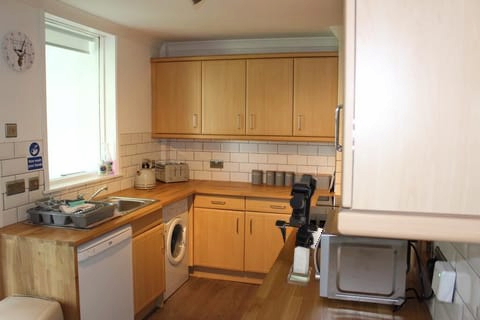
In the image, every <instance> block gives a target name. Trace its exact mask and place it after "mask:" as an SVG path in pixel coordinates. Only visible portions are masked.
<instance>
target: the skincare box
mask: <svg viewBox="0 0 480 320" xmlns="http://www.w3.org/2000/svg"><path fill="white" fill-rule="evenodd" d="M297 246H298V245H297ZM297 246H296V247H295V248H294V254H293V255H294V256H293V265H294V269H293V271H292V272H297V273H304V274H309V271H308V267H310V265H309V264H310V263H309V262H310V256H309V252H310V253H311V248H310V249H307V248H303V247H299V246H298V247H297Z"/></svg>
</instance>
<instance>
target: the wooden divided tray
mask: <svg viewBox="0 0 480 320" xmlns="http://www.w3.org/2000/svg"><path fill="white" fill-rule="evenodd" d="M293 269H294V264H291V265H290V269H289V272H288V275H287V277H286V284H289V285H296V286H301V287H309V283H310V281H311V280H310V279H311V275H312V272H313V271H312V270H313V267H311V266H309V267H308V273H307V274H304V273H297V272H293ZM311 271H312V272H311Z"/></svg>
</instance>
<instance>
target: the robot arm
mask: <svg viewBox="0 0 480 320" xmlns="http://www.w3.org/2000/svg"><path fill="white" fill-rule="evenodd" d="M313 176H314V175H312V174H306V173H303V174H301V177H300V179H299V181H295V182H294V183H293V184H292V186H291V191H290V195H289V196H290V197H291V198H290V199H289V206H290V207H291V215H290V216H289V219H288V220H289V221H288V222H287V221H286V220H281V219H277V220H275V226H276V227H277V228H278V229H279V230H280V231H281V235H282V240H283V244H286V239H287V227H291V228H295V229H296V228H297V231H296V233H295V244H297V246H296V248H297V247H298V246H299V247H303V248H307V249H310V250H311V246H312V245H314V237H313V234H312V233H315V232H314V231H316V232H318V228H319V226H318V225H317V224H310V221H311V209H312V198H313V197H314V195H315V194H316V191H317V190H318V189H317V188H318V181H317V179H316V178H314V177H313ZM310 256H313V254H312V253H311V251H310V252H309V257H310Z"/></svg>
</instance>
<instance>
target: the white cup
mask: <svg viewBox="0 0 480 320" xmlns="http://www.w3.org/2000/svg"><path fill="white" fill-rule="evenodd" d="M323 229H324V228H320V227H318V232H316V231H314V232H315V233H312V234H313V237H314V245H312V246H311V247H310V249H313V250H316V249H315V245H316V243H317V241H318V239H319V237H320V235H321V232H322V230H323Z"/></svg>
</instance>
